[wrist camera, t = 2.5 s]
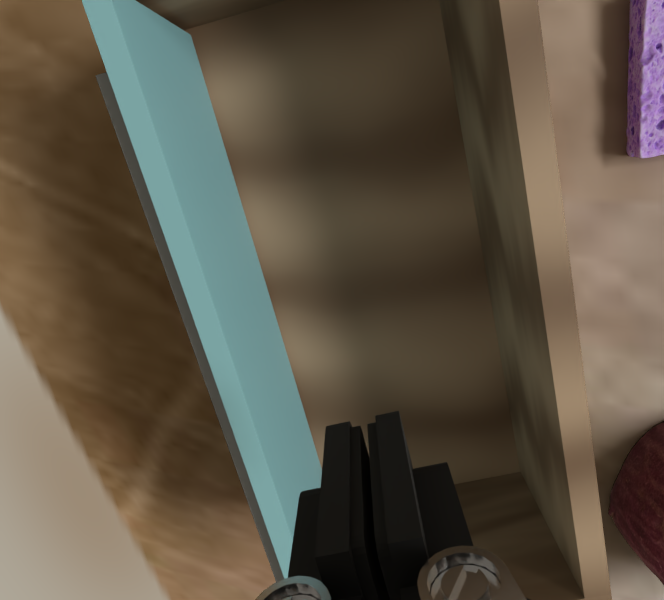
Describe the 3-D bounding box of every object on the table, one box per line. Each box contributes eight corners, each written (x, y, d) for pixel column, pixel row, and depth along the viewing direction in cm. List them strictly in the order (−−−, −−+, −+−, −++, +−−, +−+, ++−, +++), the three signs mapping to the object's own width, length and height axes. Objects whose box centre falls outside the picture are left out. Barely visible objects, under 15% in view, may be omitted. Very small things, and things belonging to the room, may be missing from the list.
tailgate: (159, 44, 22) (57, -4, 14) (190, 34, 22) (105, -19, 14) (308, 511, 29) (293, 647, 21) (333, 506, 29) (326, 641, 21)
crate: (176, 15, 23) (65, -61, 14) (445, -66, 22) (512, -205, 13) (326, 506, 31) (316, 661, 22) (532, 466, 30) (613, 613, 20)
